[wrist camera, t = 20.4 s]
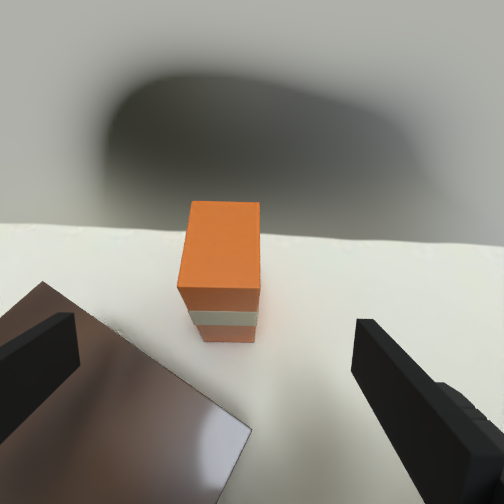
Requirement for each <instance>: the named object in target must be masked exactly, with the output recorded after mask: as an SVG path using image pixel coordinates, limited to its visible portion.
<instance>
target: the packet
mask: <svg viewBox="0 0 504 504" xmlns="http://www.w3.org/2000/svg"><path fill="white" fill-rule="evenodd" d="M177 288H178V290H179V292H180V294H181V296H182V298H183V300H184V302H185V304H186V306H187V308H188V313H189V315H190V317H191V319H192V321H193V323H194V325H196V327H197V329H198V331H199V333H200V335H201V337H202V339H203V341H204V342H254V339H255V330H256V326H257V319H258V304H259V296H260V203H259V202H257V203H256V202H215V201H193V202H192V204H191V210H190V216H189V221H188V227H187V232H186V238H185V243H184V249H183V254H182V260H181V266H180V271H179V277H178V282H177Z"/></svg>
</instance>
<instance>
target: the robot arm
mask: <svg viewBox="0 0 504 504" xmlns="http://www.w3.org/2000/svg"><path fill="white" fill-rule="evenodd" d="M80 366H81V364H80V356H79V348H78V340H77V332H76V324H75V316H74V313H71V312H57V313H55V314H54V315H52V316H50V317H49V318H47V319H45V320H44V321H42V322H40V323H39V324H37V325H35V326H34V327H32V328H30V329H29V330H27V331H25V332H24V333H22V334H20V335H19V336H17V337H15V338H14V339H12V340H10V341H8V342H7V343H5V344H3V345H2V346H0V445H1V444H2V443H3V442H4V441H5V440H6V439H7V438H8V437H9V436H10V435H11V434H12V433H13V432H14V431H15V430H16V429H17V428H18V427H19V426H20V425H21V424H22V423H23V422H24V421H25V420H26V419H27V418H28V417H29V416H30V415H31V414H32V413H33V412H34V411H35V410H36V409H37V408H38V407H39V406H40V405H41V404H42V403H43V402H44V401H45V400H46V399H47V398H48V397H49V396H50V395H51V394H52V393H53V392H54V391H55V390H56V389H57V388H58V387H59V386H60V385H61V384H62V383H63V382H64V381H65V380H66V379H67V378H68V377H70V376H71V375H72V374H73V373H74V372H75V371H76V370H77V369H78V368H79V367H80ZM351 372H352V374H353V376H354V378H355V379H356V381H357V383H358V385H359V387H360V388H361V390H362V392H363V394H364V396H365V397H366V399H367V401H368V403H369V404H370V406H371V408H372V410H373V412H374V413H375V415H376V417H377V419H378V420H379V422H380V424H381V426H382V428H383V429H384V431H385V433H386V435H387V437H388V438H389V440H390V442H391V444H392V445H393V447H394V449H395V451H396V453H397V454H398V456H399V458H400V460H401V461H402V463H403V465H404V467H405V469H406V470H407V472H408V474H409V476H410V478H411V479H412V481H413V483H414V485H415V486H416V488H417V490H418V492H419V494H420V495H421V497H422V499H423V501H424V502H425V504H504V433H503V432H501V431H500V430H499V429H498V428H497V427H496V426H495V425H494V424H493V423H492V422H491V421H490V420H487V417H486V416H485V415H484V414H482V413H481V412H480V411H479V410H478V409H476V408H475V406H474V405H473V404H472V403H471V402H470V401H469V400H468V399H467V398H466V397H464V396H463V395H462V394H461V393H460V392H458V391H457V390H455V389H453V388H452V387H450V386H449V385H447V384H445V383H443V382H434V381H433V380H432V379H431V378H430V377H429V376H428V375H427V374H426V372H425V371H424V370H423V369H422V368H421V367H420V366H419V365H418V364H417V363H416V362H415V361H414V360H413V359H412V358H411V357H410V356H409V355H408V354H407V353H406V352H405V351H404V350H403V349H402V348H401V347H400V346H399V345H398V344H397V343H396V342H395V341H394V340H393V339H392V338H391V337H390V336H389V335H388V334H387V333H386V332H385V331H384V330H383V329H382V328H381V327H380V326H379V325H378V323H377V322H376V321H375V320H374V319H357V321H356V330H355V339H354V348H353V357H352V366H351Z"/></svg>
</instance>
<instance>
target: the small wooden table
mask: <svg viewBox="0 0 504 504" xmlns="http://www.w3.org/2000/svg"><path fill="white" fill-rule="evenodd" d="M57 312H71V313H74V316H75V324H76V332H77V340H78V348H79V356H80V364H81V366H80V367H79V368H78V369H77V370H76V371H75V372H74V373H73V374H72V375H71V376H70V377H68V378H67V379H66V380H65V381H64V382H63V383H62V384H61V385H60V386H59V387H58V388H57V389H56V390H55V391H54V392H53V393H52V394H51V395H50V396H49V397H48V398H47V399H46V400H45V401H44V402H43V403H42V404H41V405H40V406H39V407H38V408H37V409H36V410H35V411H34V412H33V413H32V414H31V415H30V416H29V417H28V418H27V419H26V420H25V421H24V422H23V423H22V424H21V425H20V426H19V427H18V428H17V429H16V430H15V431H14V432H13V433H12V434H11V435H10V436H9V437H8V438H7V439H6V440H5V441H4V442H3V443H2V444H1V445H0V504H217V501H218V499H219V497H220V495H221V493H222V491H223V489H224V487H225V485H226V483H227V481H228V479H229V477H230V475H231V473H232V471H233V469H234V467H235V465H236V463H237V461H238V459H239V456H240V454H241V452H242V450H243V448H244V446H245V444H246V442H247V440H248V438H249V436H250V434H251V432H252V429H251V428H250V427H248V426H247V425H245V424H244V423H243V422H241V421H240V420H238V419H237V418H236V417H234V416H233V415H231V414H230V413H228V412H227V411H226V410H224V409H223V408H221V407H220V406H219V405H217V404H216V403H214V402H213V401H212V400H210V399H209V398H207V397H206V396H204V395H203V394H202V393H200V392H199V391H197V390H196V389H195V388H193V387H192V386H190V385H189V384H188V383H186V382H185V381H183V380H182V379H180V378H179V377H178V376H176V375H175V374H173V373H172V372H171V371H169V370H168V369H166V368H165V367H163V366H162V365H161V364H159V363H158V362H156V361H155V360H154V359H152V358H151V357H149V356H148V355H147V354H145V353H144V352H142V351H141V350H139V349H138V348H137V347H135V346H134V345H132V344H131V343H130V342H128V341H127V340H125V339H124V338H123V337H121V336H120V335H118V334H117V333H115V332H114V331H113V330H111V329H110V328H108V327H107V326H106V325H104V324H103V323H101V322H100V321H98V320H97V319H96V318H94V317H93V316H91V315H90V314H89V313H87V312H86V311H84V310H83V309H82V308H80V307H79V306H77V305H76V304H74V303H73V302H72V301H70V300H69V299H67V298H66V297H65V296H63V295H62V294H60V293H59V292H58V291H56V290H55V289H53V288H52V287H50V286H49V285H48V284H46V283H45V282H43V281H42V282H41V283H40V284H39V285H37V286H36V287H35V288H34V289H33V290H32V291H31V292H29V293H28V294H27V295H26V296H25V297H24V298H22V299H21V300H20V301H19V302H18V303H17V304H16V305H14V306H13V307H12V308H11V309H10V310H9V311H8V312H6V313H5V314H4V315H3V316H2V317H1V318H0V346H2V345H3V344H5V343H7V342H8V341H10V340H12V339H14V338H15V337H17V336H19V335H20V334H22V333H24V332H25V331H27V330H29V329H30V328H32V327H34V326H35V325H37V324H39V323H40V322H42V321H44V320H45V319H47V318H49V317H50V316H52V315H54V314H55V313H57Z"/></svg>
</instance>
